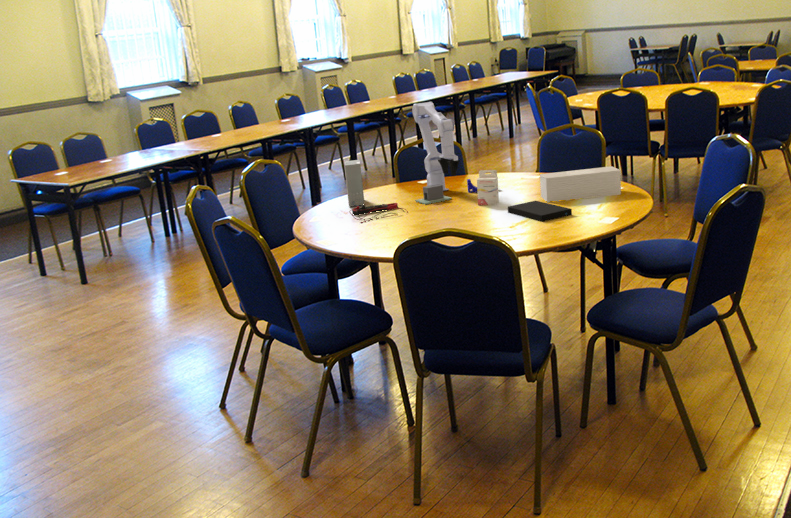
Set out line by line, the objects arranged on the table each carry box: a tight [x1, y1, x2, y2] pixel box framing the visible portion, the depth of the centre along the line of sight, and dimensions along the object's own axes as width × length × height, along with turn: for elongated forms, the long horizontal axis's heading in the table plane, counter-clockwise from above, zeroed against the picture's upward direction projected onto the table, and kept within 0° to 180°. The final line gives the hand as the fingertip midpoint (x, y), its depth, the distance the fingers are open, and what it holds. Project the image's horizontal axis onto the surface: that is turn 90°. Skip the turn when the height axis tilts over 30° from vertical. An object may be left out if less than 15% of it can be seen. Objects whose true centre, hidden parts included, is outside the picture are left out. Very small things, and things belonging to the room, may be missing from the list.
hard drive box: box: [343, 159, 366, 207], centre depth 344 cm, size 16×8×20 cm, turn 4°
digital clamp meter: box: [348, 202, 409, 224], centre depth 318 cm, size 23×4×25 cm
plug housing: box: [422, 184, 445, 201], centre depth 334 cm, size 5×8×6 cm, turn 115°
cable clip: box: [466, 178, 477, 194], centre depth 345 cm, size 12×4×6 cm, turn 88°
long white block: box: [539, 166, 622, 203], centre depth 312 cm, size 32×11×11 cm, turn 92°
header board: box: [414, 195, 452, 206], centre depth 334 cm, size 10×14×3 cm
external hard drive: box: [507, 200, 573, 223], centre depth 289 cm, size 14×23×3 cm, turn 25°
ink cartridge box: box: [476, 169, 500, 206], centre depth 314 cm, size 9×5×15 cm, turn 71°
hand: (449, 174), depth 340 cm, fingers open, 7 cm apart
